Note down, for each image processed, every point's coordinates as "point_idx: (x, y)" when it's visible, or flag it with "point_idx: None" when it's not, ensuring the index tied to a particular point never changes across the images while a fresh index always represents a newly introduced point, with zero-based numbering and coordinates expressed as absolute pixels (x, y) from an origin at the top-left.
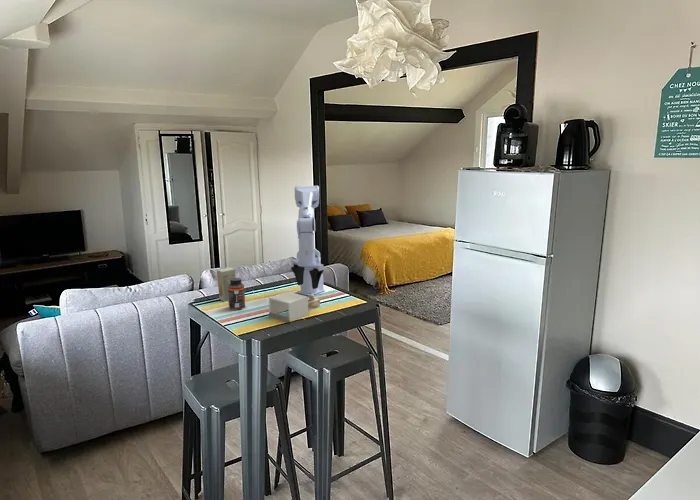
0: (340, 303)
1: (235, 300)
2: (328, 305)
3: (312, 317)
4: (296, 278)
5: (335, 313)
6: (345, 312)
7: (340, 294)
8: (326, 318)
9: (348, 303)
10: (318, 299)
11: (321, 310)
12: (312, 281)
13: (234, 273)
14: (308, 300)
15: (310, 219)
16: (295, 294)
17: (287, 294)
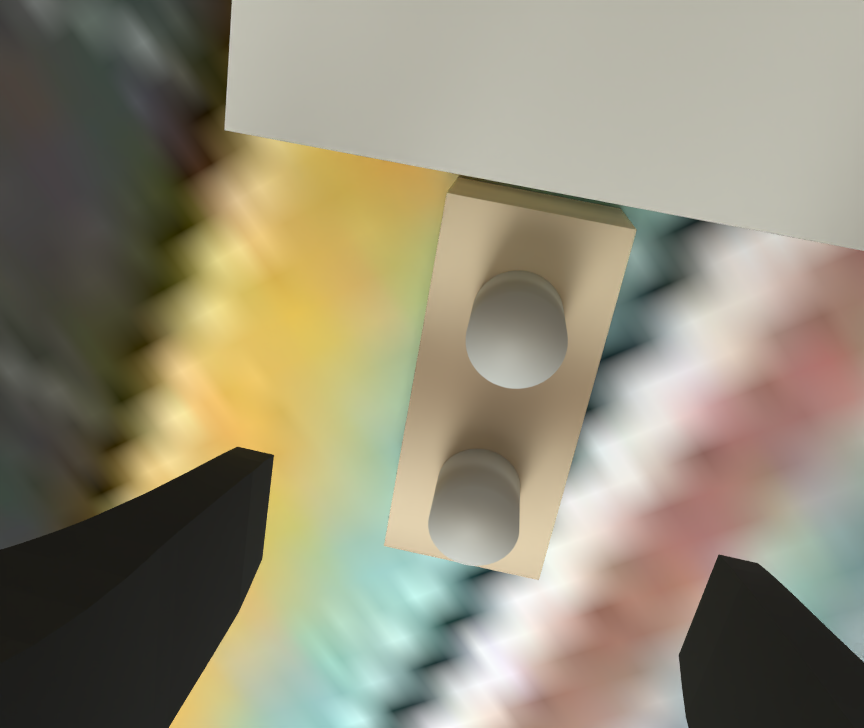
0: (249, 651)
1: None
2: (326, 549)
3: (213, 45)
4: (853, 670)
5: (70, 333)
6: (3, 413)
7: None
8: (32, 108)
9: None
10: (397, 531)
11: (287, 358)
12: (155, 522)
13: None
14: (508, 438)
15: None
16: (579, 147)
17: (777, 48)
